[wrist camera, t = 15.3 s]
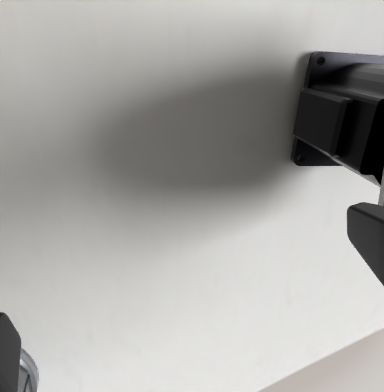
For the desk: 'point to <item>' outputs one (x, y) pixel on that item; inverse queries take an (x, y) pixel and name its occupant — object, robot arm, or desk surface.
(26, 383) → the sleeve
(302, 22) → the desk surface
